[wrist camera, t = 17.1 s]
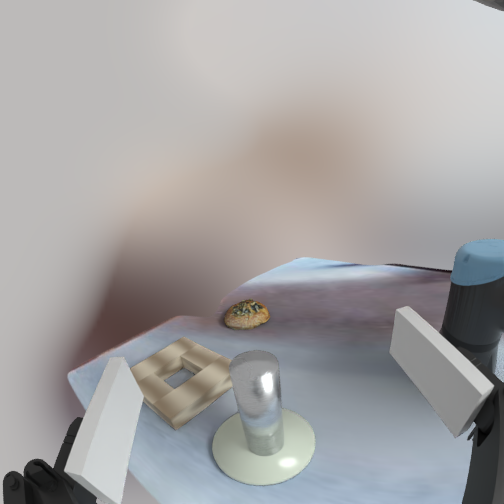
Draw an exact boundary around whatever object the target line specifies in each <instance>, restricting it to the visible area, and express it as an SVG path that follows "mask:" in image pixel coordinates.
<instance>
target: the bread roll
mask: <svg viewBox="0 0 504 504" xmlns="http://www.w3.org/2000/svg"><path fill="white" fill-rule="evenodd" d="M269 318H270V315H269V312H268V310H267V308H266V307H265V305H263V304H262V303H260V302H257V301H253V300H252V299H249V300H246V301H245V300H243V301H242V302H239V303H237V304H235V305H233V306H231V307H230V308H229V310H228V311H227V313H226V314H225V317H224V322H225V324H226V326H228V327H229V328H232V329H233V330H246V329H252V328H255V327H257V326H259V325H261V324H263V323H265V322H266V321H268V319H269Z"/></svg>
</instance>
